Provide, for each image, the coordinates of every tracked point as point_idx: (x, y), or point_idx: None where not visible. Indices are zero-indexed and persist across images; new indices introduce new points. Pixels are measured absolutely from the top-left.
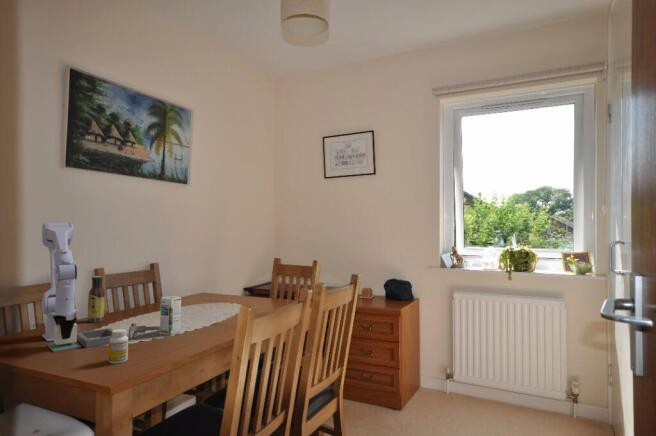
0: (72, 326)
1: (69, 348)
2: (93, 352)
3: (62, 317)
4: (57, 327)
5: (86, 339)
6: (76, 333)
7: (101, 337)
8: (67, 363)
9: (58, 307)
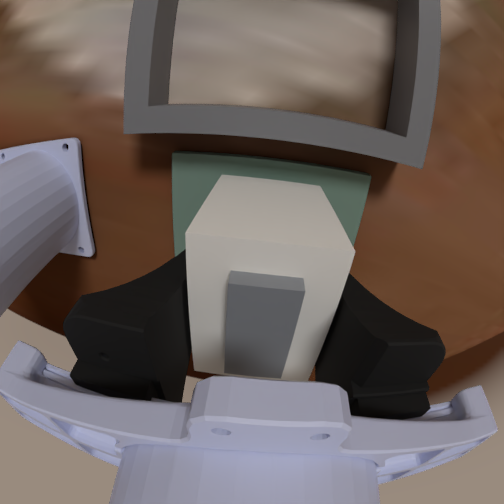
0: (381, 306)
1: (355, 234)
2: (483, 177)
3: (167, 383)
4: (306, 379)
5: (389, 150)
6: (332, 213)
7: (419, 58)
8: (488, 294)
9: None
